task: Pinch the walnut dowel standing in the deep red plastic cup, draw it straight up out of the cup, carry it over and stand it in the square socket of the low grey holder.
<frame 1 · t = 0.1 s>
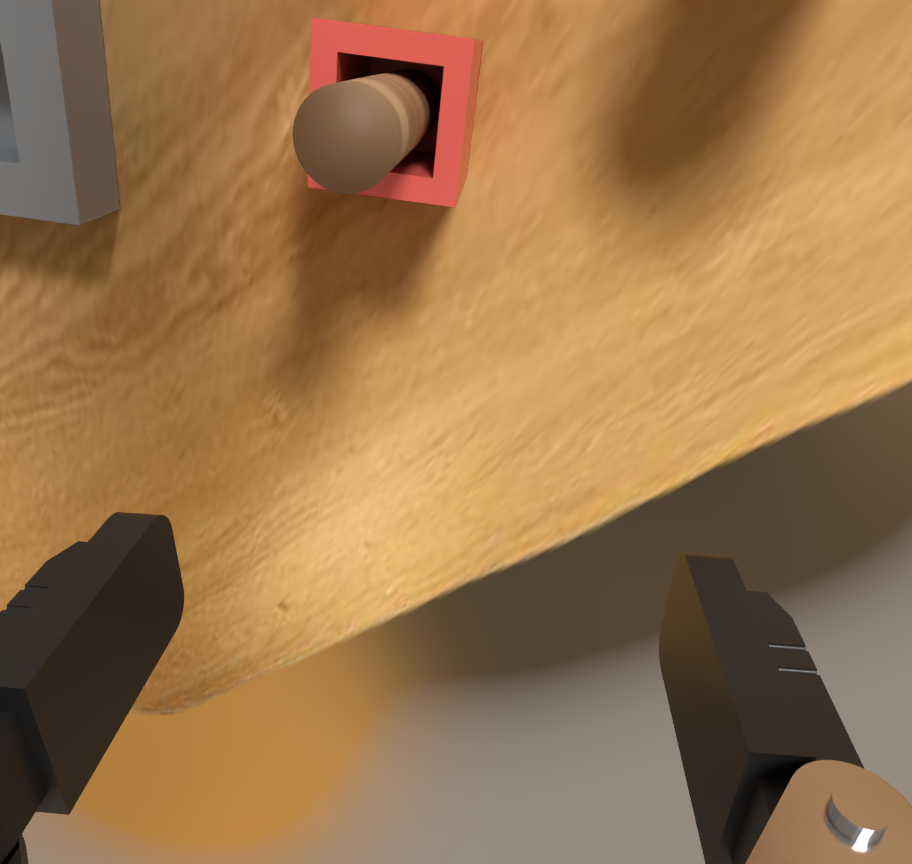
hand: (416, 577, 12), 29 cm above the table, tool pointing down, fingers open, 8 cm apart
holder: (10, 92, 36), on the table
dowel: (410, 104, 34), point 1 cm above the table, touching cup
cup: (412, 102, 35), on the table
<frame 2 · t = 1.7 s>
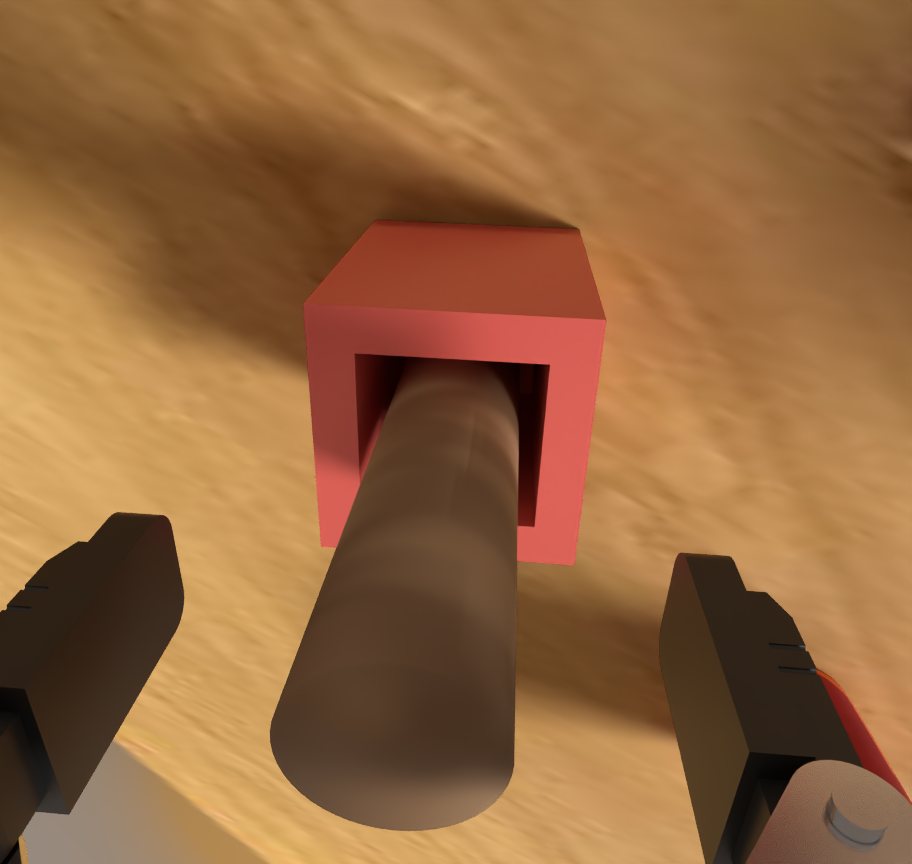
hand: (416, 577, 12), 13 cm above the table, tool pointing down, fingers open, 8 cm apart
paper cup: (774, 710, 30), on the table
dowel: (470, 330, 22), point 1 cm above the table, touching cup
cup: (472, 321, 23), on the table
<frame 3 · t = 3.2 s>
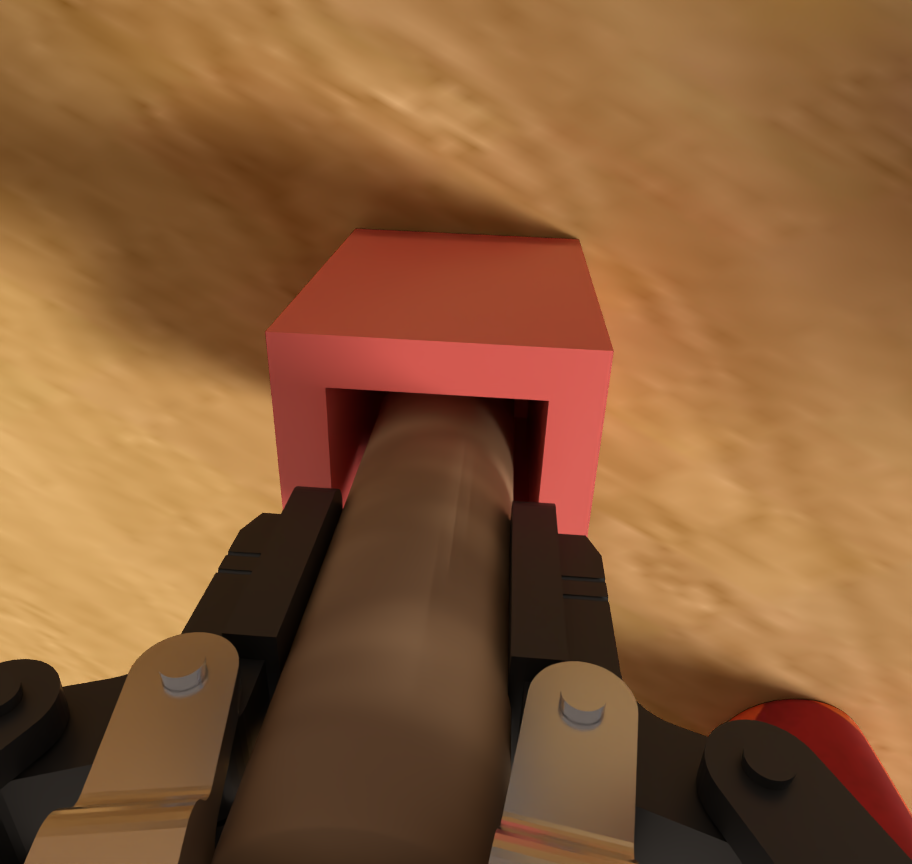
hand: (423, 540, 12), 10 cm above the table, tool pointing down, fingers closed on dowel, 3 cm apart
paper cup: (784, 746, 28), on the table
dowel: (460, 349, 20), point 1 cm above the table, touching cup, gripper
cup: (462, 339, 21), on the table
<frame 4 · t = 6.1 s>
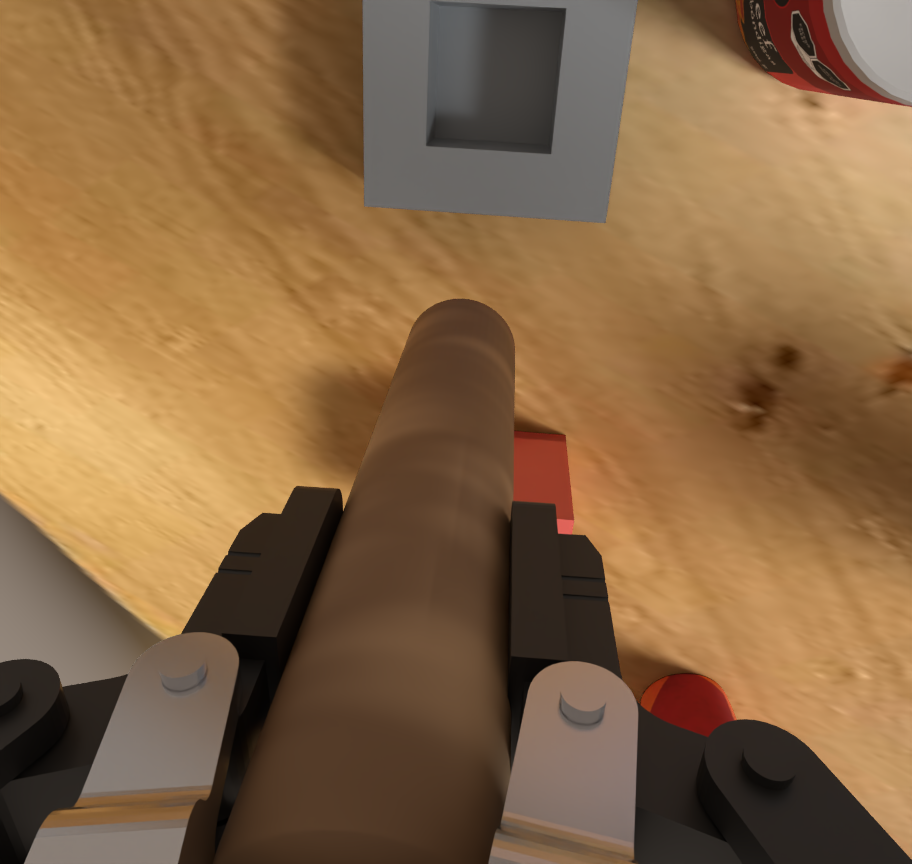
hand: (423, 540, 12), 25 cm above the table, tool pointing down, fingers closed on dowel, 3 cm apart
holder: (496, 77, 31), on the table
paper cup: (683, 702, 47), on the table
dowel: (460, 350, 20), point 16 cm above the table, touching gripper
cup: (504, 477, 40), on the table
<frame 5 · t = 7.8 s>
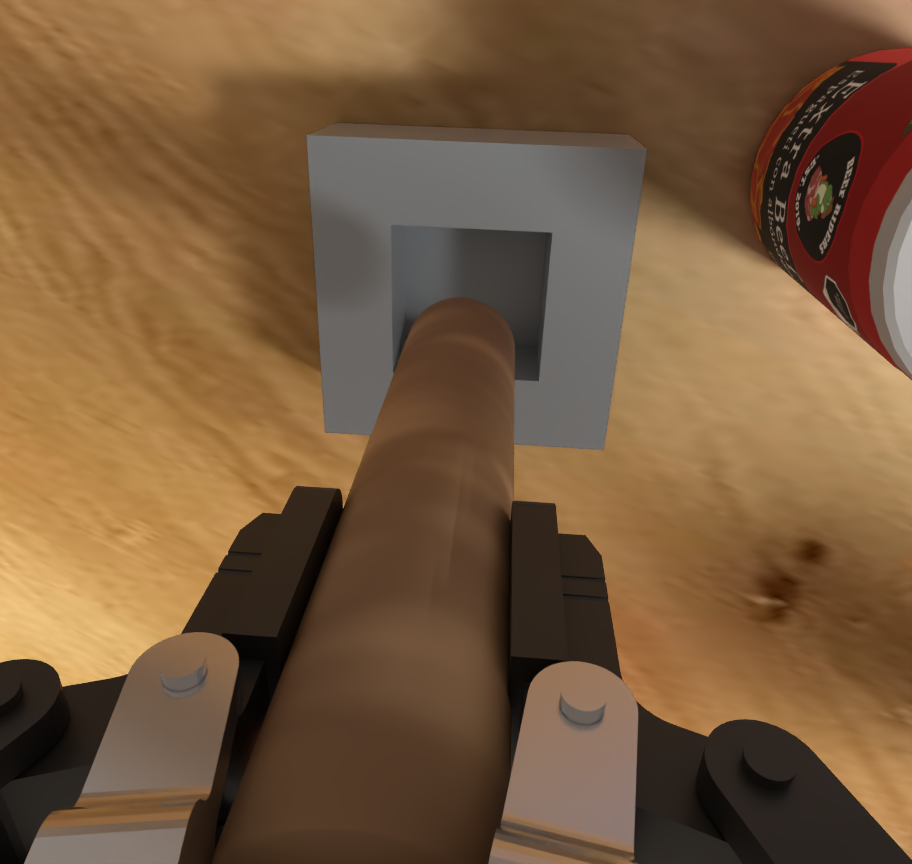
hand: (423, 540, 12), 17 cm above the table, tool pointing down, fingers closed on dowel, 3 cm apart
canned food: (860, 174, 25), on the table
holder: (474, 272, 27), on the table
dowel: (460, 349, 20), point 8 cm above the table, touching gripper
when the fingers open (11 cm above the table, at t = 9.4 s): dowel stays where it is, resting on holder.
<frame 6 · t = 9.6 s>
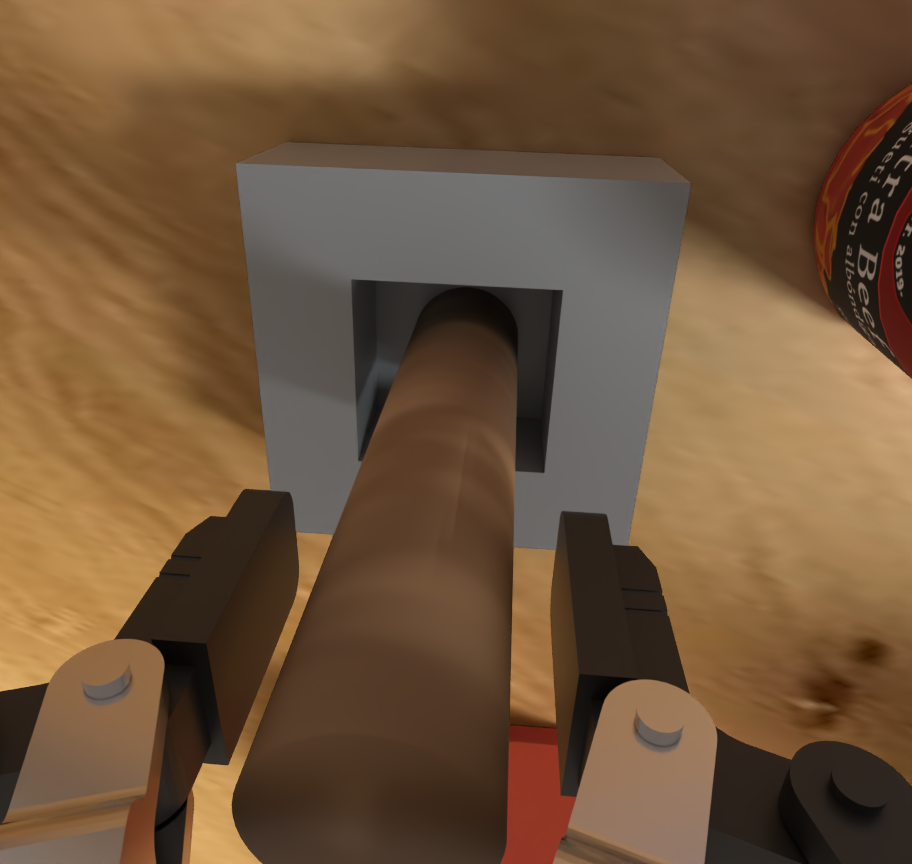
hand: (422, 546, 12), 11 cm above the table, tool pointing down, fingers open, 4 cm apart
holder: (463, 327, 22), on the table
dowel: (466, 337, 21), point 1 cm above the table, touching holder
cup: (493, 772, 31), on the table
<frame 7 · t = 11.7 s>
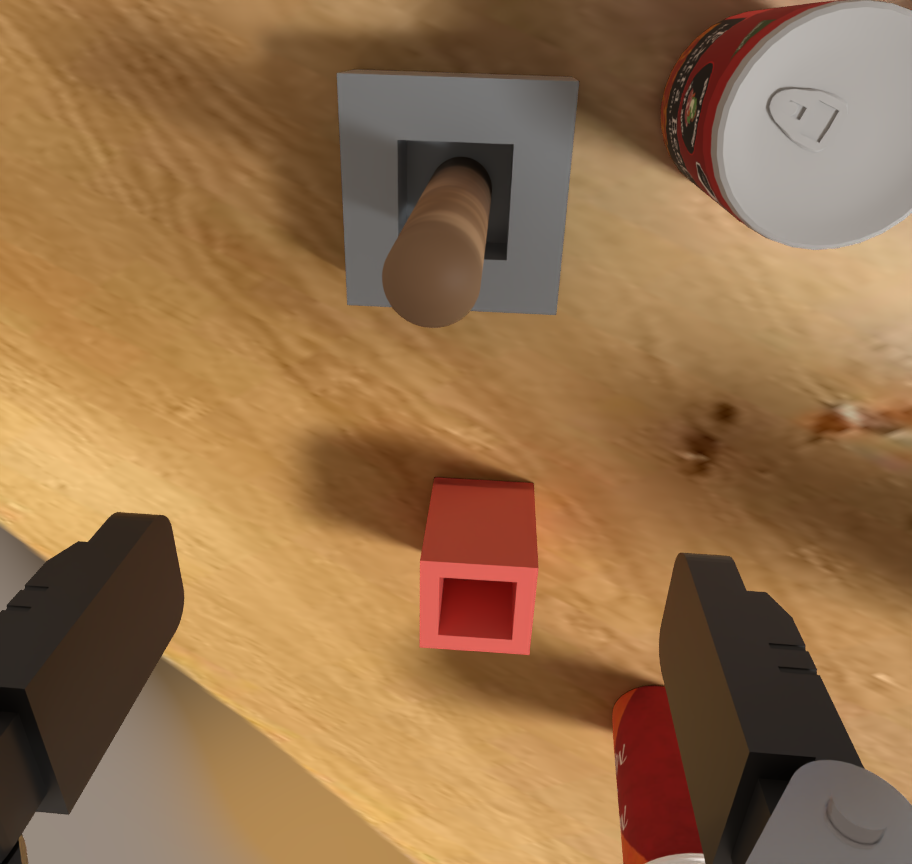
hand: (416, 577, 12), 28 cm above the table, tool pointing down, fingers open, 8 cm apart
canned food: (743, 106, 34), on the table
holder: (459, 186, 36), on the table
paper cup: (651, 710, 53), on the table
dowel: (461, 189, 35), point 1 cm above the table, touching holder
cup: (481, 520, 45), on the table
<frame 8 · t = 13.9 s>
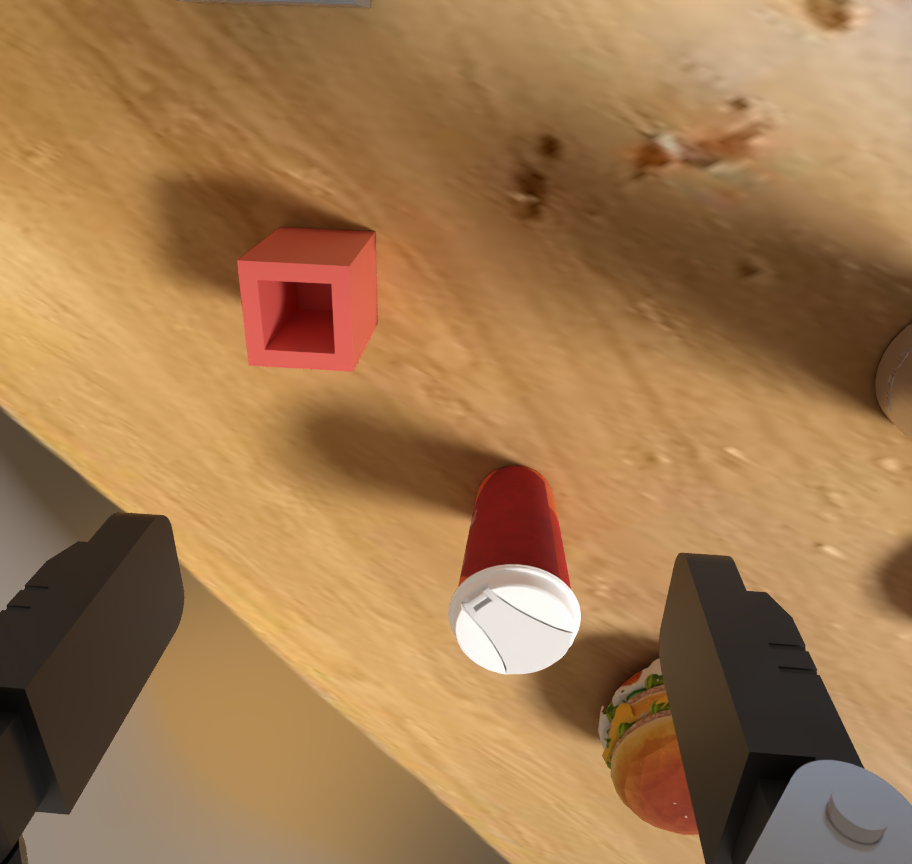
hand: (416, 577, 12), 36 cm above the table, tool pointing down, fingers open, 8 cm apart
paper cup: (515, 496, 54), on the table
burger: (673, 702, 63), on the table
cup: (330, 276, 47), on the table
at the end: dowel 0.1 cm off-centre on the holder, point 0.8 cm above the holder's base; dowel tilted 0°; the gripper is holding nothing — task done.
